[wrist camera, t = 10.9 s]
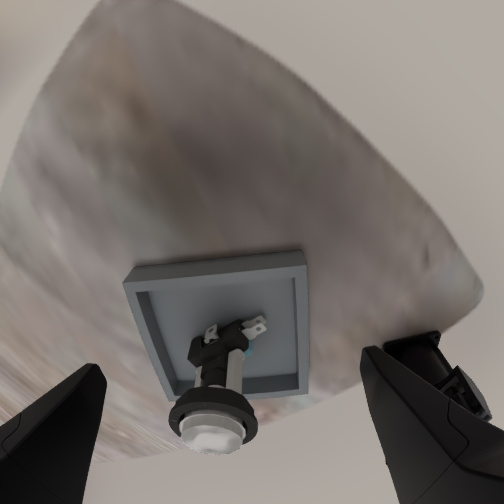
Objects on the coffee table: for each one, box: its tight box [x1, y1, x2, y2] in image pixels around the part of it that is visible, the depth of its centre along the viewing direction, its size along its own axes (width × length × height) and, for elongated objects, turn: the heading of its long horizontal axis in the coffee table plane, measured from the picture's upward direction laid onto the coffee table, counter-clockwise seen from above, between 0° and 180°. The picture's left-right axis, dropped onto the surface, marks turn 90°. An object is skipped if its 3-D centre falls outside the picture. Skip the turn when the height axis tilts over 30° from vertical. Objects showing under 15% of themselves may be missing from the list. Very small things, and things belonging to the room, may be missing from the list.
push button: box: [169, 315, 267, 455], centre depth 19 cm, size 7×5×10 cm
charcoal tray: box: [122, 250, 309, 401], centre depth 23 cm, size 13×13×2 cm
